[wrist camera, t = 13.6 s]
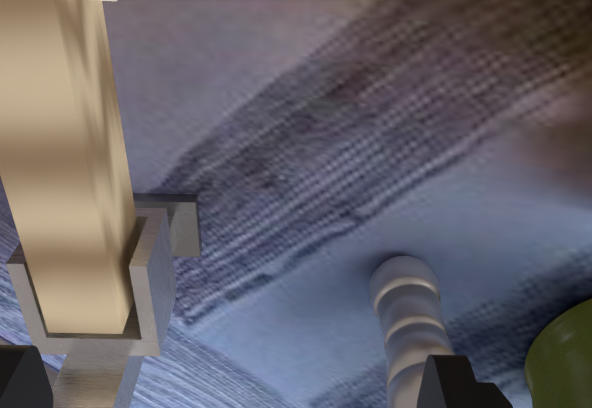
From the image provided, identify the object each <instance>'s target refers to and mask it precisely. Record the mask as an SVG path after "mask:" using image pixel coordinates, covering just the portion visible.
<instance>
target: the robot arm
mask: <svg viewBox="0 0 592 408" xmlns="http://www.w3.org/2000/svg"><path fill="white" fill-rule="evenodd" d="M0 408H53V392H52V389H51V386H50V383H49V380H48V377H47V374H46V371H45V367H44V364H43V361H42V358H41V355H40V352H39V350H38V348H37V347H36V346H34V345H0ZM417 408H513V407H512V404H511V403H510V402H509V401H508V400H507V398H506V397H505V396H504V395H503V394H502V392H501V391H500V390H499V389H498V388H497V386H496V385H495V384H494V383H484V382H476V380H475V377H474V373H473V370H472V367H471V364H470V362H469V359H468V358H467V356H465V355H434V354H430V355H428V357H427V359H426V364H425V368H424V372H423V377H422V381H421V386H420V390H419V395H418V399H417Z"/></svg>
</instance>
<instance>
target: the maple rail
mask: <svg viewBox="0 0 592 408" xmlns="http://www.w3.org/2000/svg"><path fill="white" fill-rule="evenodd" d="M0 176H1V179H2V182H3V186H4V189H5V192H6V196H7V199H8V202H9V205H10V209H11V212H12V215H13V218H14V222H15V225H16V228H17V231H18V235H19V238H20V241H21V245H22V248H23V251H24V254H25V258H26V261H27V264H28V267H29V271H30V274H31V277H32V280H33V284H34V287H35V290H36V293H37V297H38V300H39V303H40V307H41V310H42V313H43V316H44V320H45V323H46V326H47V329H48V333H99V334H122V333H123V330H124V327H125V324H126V321H127V318H128V315H129V312H130V310H131V307H132V304H133V301H134V292H133V287H132V281H131V276H130V270H129V265H130V262H131V259H132V257H133V254H134V252H135V249H136V247H137V244H138V241H139V239H140V238H139V231H138V225H137V219H136V213H135V206H134V200H133V194H132V187H131V181H130V175H129V169H128V162H127V156H126V150H125V144H124V137H123V131H122V125H121V118H120V112H119V106H118V100H117V93H116V87H115V81H114V75H113V68H112V62H111V56H110V49H109V43H108V37H107V31H106V24H105V18H104V12H103V6H102V0H0Z"/></svg>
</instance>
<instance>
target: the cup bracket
mask: <svg viewBox="0 0 592 408" xmlns="http://www.w3.org/2000/svg"><path fill="white" fill-rule="evenodd" d="M133 200H134V206H135V213H136V219H137V225H138V231H139V238H140V239H139V241H138V244H137V247H136V249H135V252H134V254H133V257H132V259H131V262H130V265H129V270H130V276H131V281H132V287H133V292H134V301H133V304H132V307H131V310H130V312H129V315H128V318H127V321H126V324H125V327H124V330H123V333H122V334H99V333H48V329H47V326H46V323H45V320H44V316H43V313H42V310H41V307H40V303H39V300H38V297H37V293H36V290H35V287H34V284H33V280H32V277H31V274H30V271H29V267H28V264H27V261H26V258H25V254H24V251H23V248H22V245H21V242H20V243H19V245H18V246H17V248H16V249H15V251H14V252H13V254H12V255H11V257H10V258H9V260H8V261H7V263H6V266H7V269H8V272H9V275H10V278H11V281H12V284H13V287H14V290H15V293H16V296H17V299H18V302H19V305H20V308H21V311H22V314H23V317H24V320H25V323H26V326H27V329H28V332H29V335H30V338H31V341H32V344H33V345H34V346H36V347H37V348H38V350H39V352H40V354H65V355H67V356H66V358H65V360H64V363H63V365H62V367H61V369H60V372H59V374H58V377H57V379H56V381H55V383H54V386H53V388H52V392H53V408H129V406H130V403H131V400H132V396H133V393H134V389H135V386H136V382H137V379H138V376H139V372H140V369H141V365H142V362H143V358H144V356H161V352H162V348H163V344H164V340H165V337H166V333H167V329H168V325H169V321H170V317H171V314H172V310H173V306H174V302H175V298H176V294H177V290H176V282H175V273H174V265H173V256H186V257H200V255H201V251H202V243H201V231H200V219H199V207H198V195H171V194H133Z"/></svg>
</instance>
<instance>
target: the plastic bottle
mask: <svg viewBox="0 0 592 408" xmlns="http://www.w3.org/2000/svg"><path fill="white" fill-rule="evenodd" d="M369 297H370V302H371V304H372V307H373V310H374V312H375V314H376V316H377V318H378V321H379V325H380V328H381V332H382V335H383V339H384V344H385V353H386V362H387V403H388V408H417V399H418V395H419V390H420V386H421V381H422V377H423V372H424V368H425V364H426V359H427V357H428V355H430V354H434V355H455V353H454V351H453V349H452V346H451V343H450V341H449V338H448V335H447V333H446V330H445V327H444V322H443V316H442V311H441V306H440V290H439V283H438V280H437V278H436V276H435V274H434V273H433V271H432V269H431V268H430V267H429V265H428V264H426V263H425V262H424V261H422V260H420V259H418V258H415V257H411V256H397V257H393V258H390V259H388V260H386V261H385V262H383V263H382V264H381V265H380V266H379V267H378V268H377V269H376V270H375V271H374V273H373V275H372V277H371V280H370V290H369Z"/></svg>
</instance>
